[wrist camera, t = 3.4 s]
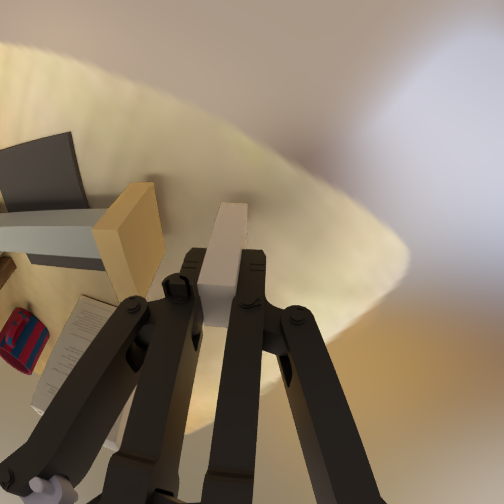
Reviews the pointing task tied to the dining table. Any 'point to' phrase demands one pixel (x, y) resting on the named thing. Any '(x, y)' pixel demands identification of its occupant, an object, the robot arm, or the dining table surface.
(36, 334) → the mug
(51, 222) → the plunger
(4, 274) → the tunnel
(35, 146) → the mat
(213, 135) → the dining table surface
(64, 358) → the small box
